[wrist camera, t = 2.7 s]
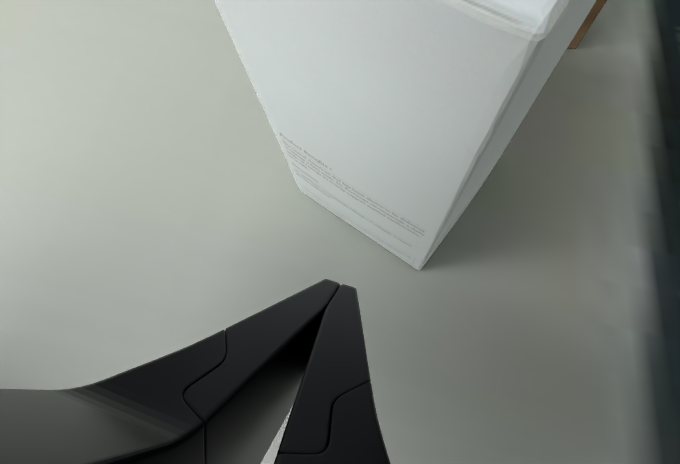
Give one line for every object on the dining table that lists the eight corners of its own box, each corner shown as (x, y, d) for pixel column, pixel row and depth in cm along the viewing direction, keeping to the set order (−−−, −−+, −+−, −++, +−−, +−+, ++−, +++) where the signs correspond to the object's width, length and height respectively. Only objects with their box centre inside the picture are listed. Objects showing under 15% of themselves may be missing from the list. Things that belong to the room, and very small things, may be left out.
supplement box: (504, 155, 18) (784, -270, 6) (418, 276, 16) (550, 42, 4) (380, 87, 19) (392, -337, 8) (292, 188, 18) (134, -143, 6)
